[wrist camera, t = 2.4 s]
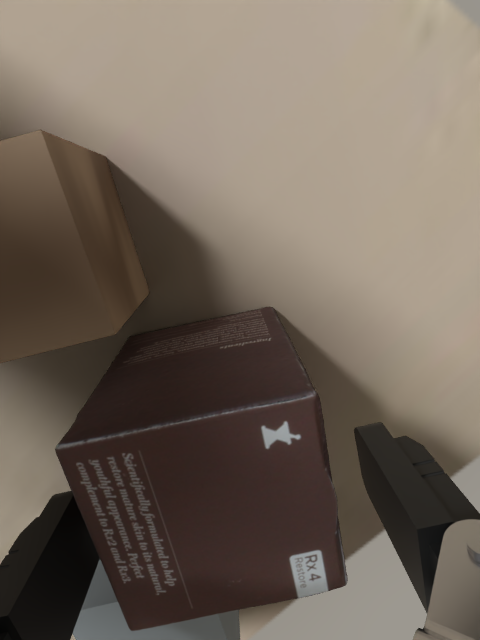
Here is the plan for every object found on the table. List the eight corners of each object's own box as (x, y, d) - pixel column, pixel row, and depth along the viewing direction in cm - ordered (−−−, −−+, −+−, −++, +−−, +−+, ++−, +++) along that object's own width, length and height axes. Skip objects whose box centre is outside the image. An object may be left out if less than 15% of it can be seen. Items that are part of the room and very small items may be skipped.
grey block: (106, 502, 17) (62, 614, 13) (210, 477, 17) (206, 581, 13) (140, 580, 19) (112, 707, 14) (236, 557, 19) (241, 678, 14)
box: (127, 331, 15) (44, 442, 8) (275, 302, 15) (322, 388, 8) (165, 458, 17) (125, 638, 10) (297, 432, 17) (352, 595, 10)
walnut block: (-30, 192, 13) (-170, 185, 9) (106, 156, 13) (40, 129, 8) (27, 322, 15) (-66, 379, 10) (150, 292, 15) (115, 334, 10)
